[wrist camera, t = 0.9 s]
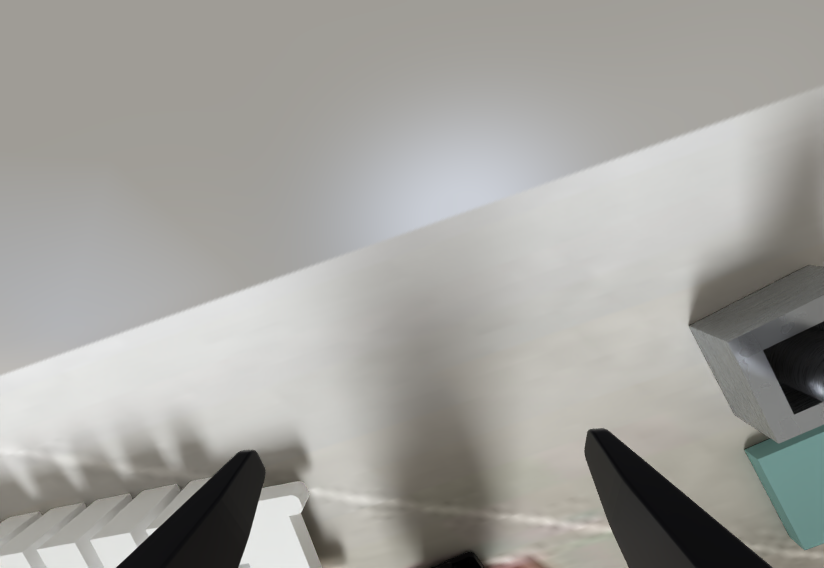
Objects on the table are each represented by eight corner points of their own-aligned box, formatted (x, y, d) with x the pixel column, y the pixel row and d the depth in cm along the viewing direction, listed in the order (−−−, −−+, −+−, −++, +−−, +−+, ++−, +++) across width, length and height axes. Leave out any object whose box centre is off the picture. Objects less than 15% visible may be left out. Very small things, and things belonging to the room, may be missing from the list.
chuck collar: (851, 362, 22) (916, 385, 19) (734, 415, 23) (778, 443, 20) (808, 265, 21) (870, 272, 18) (688, 325, 22) (727, 342, 19)
